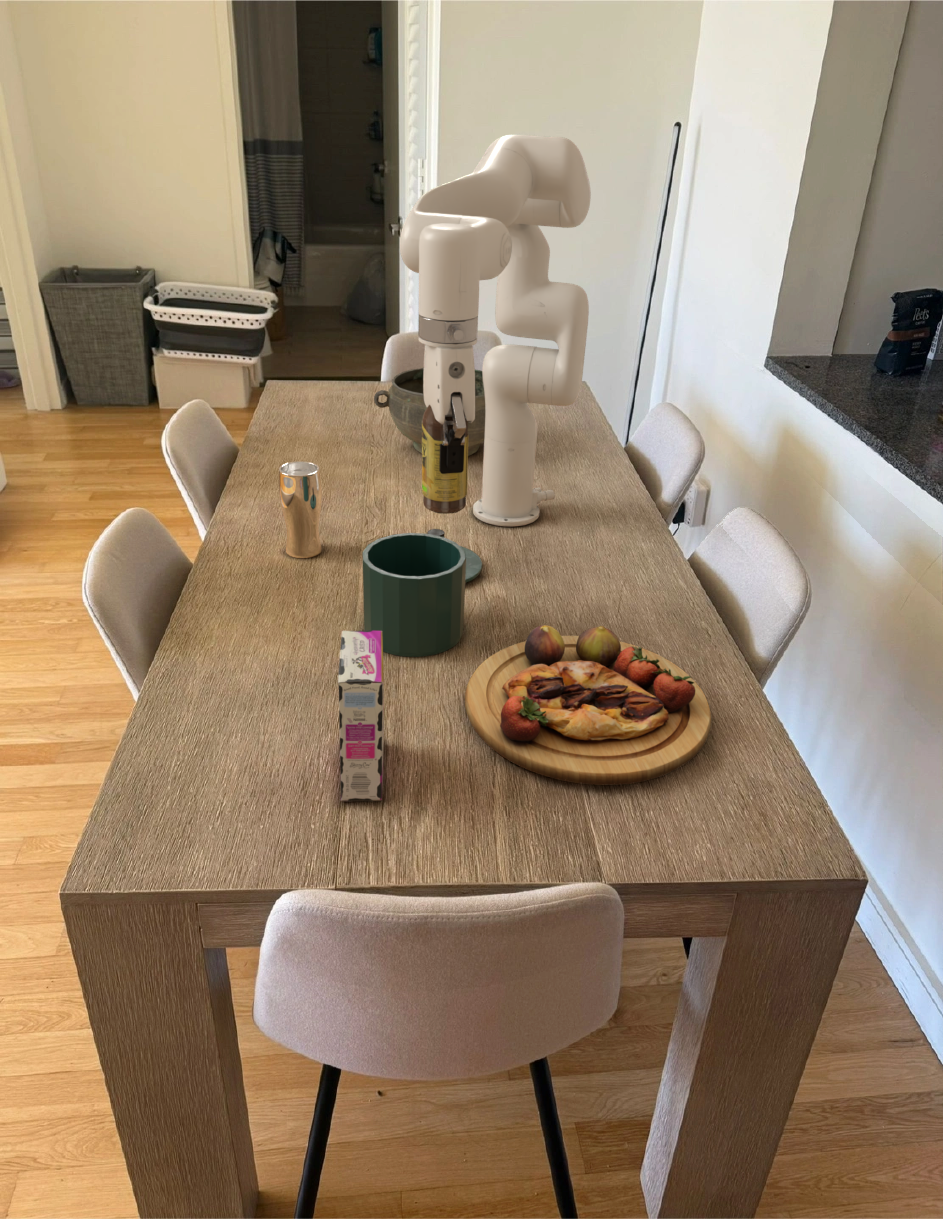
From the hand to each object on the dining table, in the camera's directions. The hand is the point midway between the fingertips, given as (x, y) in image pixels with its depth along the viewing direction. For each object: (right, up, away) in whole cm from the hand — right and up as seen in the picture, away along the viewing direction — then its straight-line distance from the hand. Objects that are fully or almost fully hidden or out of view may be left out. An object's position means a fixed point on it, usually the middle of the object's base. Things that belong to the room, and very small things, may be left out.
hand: (444, 461), depth 129 cm
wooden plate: (+19, -34, -4) cm, 39 cm away
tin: (-5, -23, +12) cm, 27 cm away
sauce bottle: (0, -6, +3) cm, 7 cm away
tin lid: (-2, -13, +29) cm, 32 cm away
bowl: (-2, +16, +81) cm, 83 cm away
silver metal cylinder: (-25, -10, +34) cm, 43 cm away
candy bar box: (-9, -39, -17) cm, 44 cm away
